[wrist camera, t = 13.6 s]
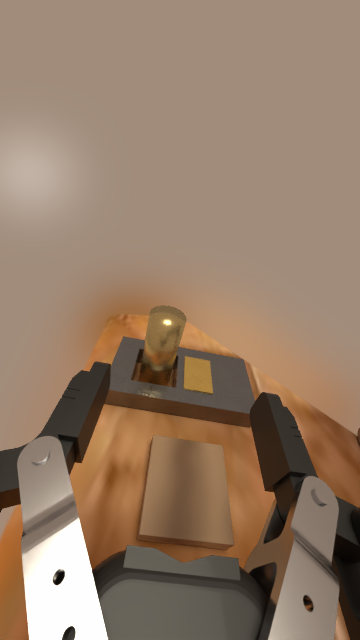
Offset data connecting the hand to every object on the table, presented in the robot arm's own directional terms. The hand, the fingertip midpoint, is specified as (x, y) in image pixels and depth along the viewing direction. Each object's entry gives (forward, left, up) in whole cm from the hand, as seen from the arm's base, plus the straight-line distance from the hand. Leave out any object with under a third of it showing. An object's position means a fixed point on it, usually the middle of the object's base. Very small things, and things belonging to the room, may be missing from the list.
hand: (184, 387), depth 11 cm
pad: (-4, -1, -17) cm, 18 cm away
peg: (+1, -14, -17) cm, 22 cm away
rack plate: (-3, -14, -17) cm, 22 cm away
